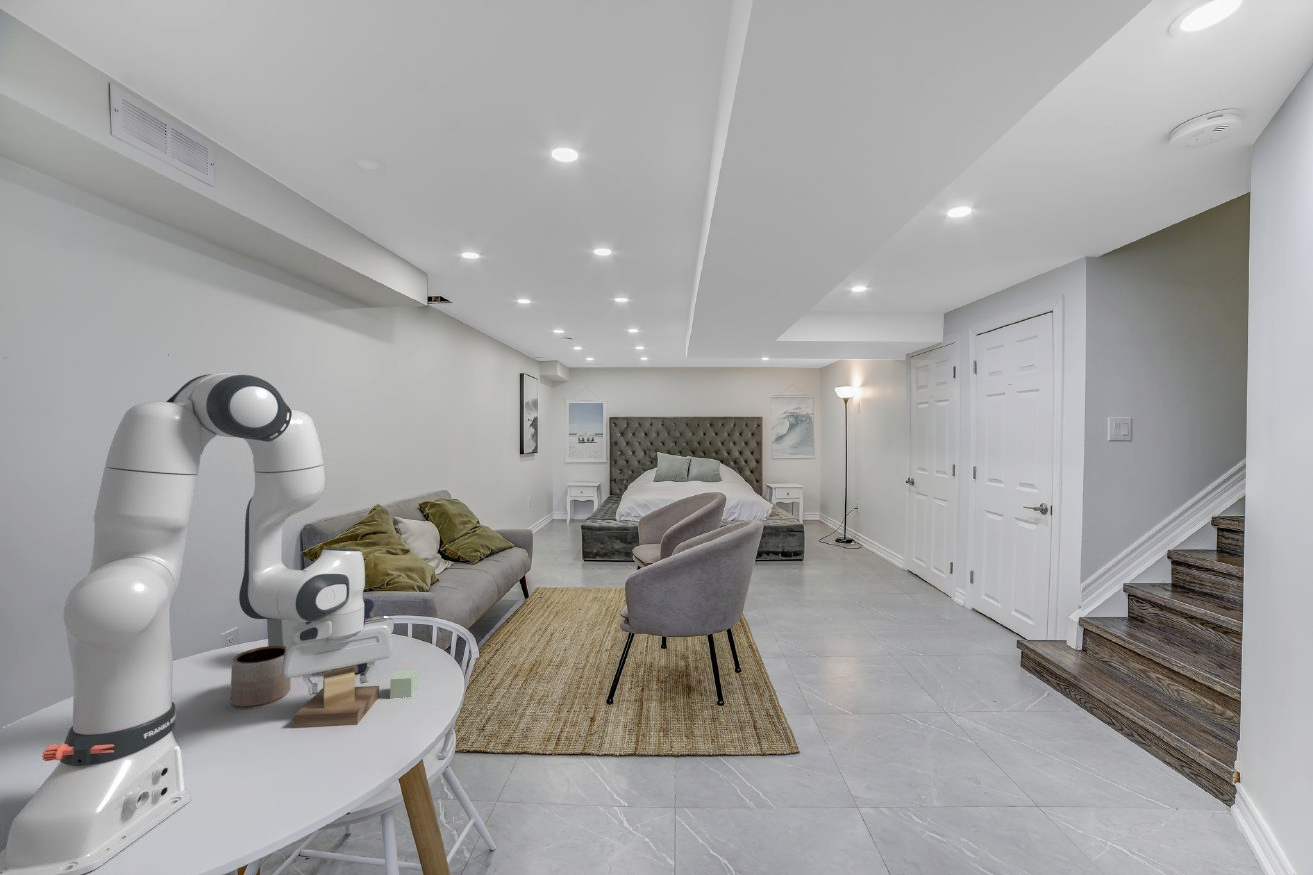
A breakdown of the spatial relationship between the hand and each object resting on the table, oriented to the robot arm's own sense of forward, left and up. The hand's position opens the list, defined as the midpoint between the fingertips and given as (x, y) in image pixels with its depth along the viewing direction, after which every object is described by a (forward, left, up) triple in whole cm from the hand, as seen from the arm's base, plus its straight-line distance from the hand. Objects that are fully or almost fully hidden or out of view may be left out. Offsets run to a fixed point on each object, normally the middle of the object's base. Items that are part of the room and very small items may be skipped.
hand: (339, 687), depth 115 cm
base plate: (0, 0, -5) cm, 5 cm away
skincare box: (+28, +24, -5) cm, 37 cm away
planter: (+9, +20, -5) cm, 23 cm away
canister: (+22, +6, -5) cm, 23 cm away
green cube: (+7, -11, -5) cm, 14 cm away
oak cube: (0, 0, -3) cm, 3 cm away
